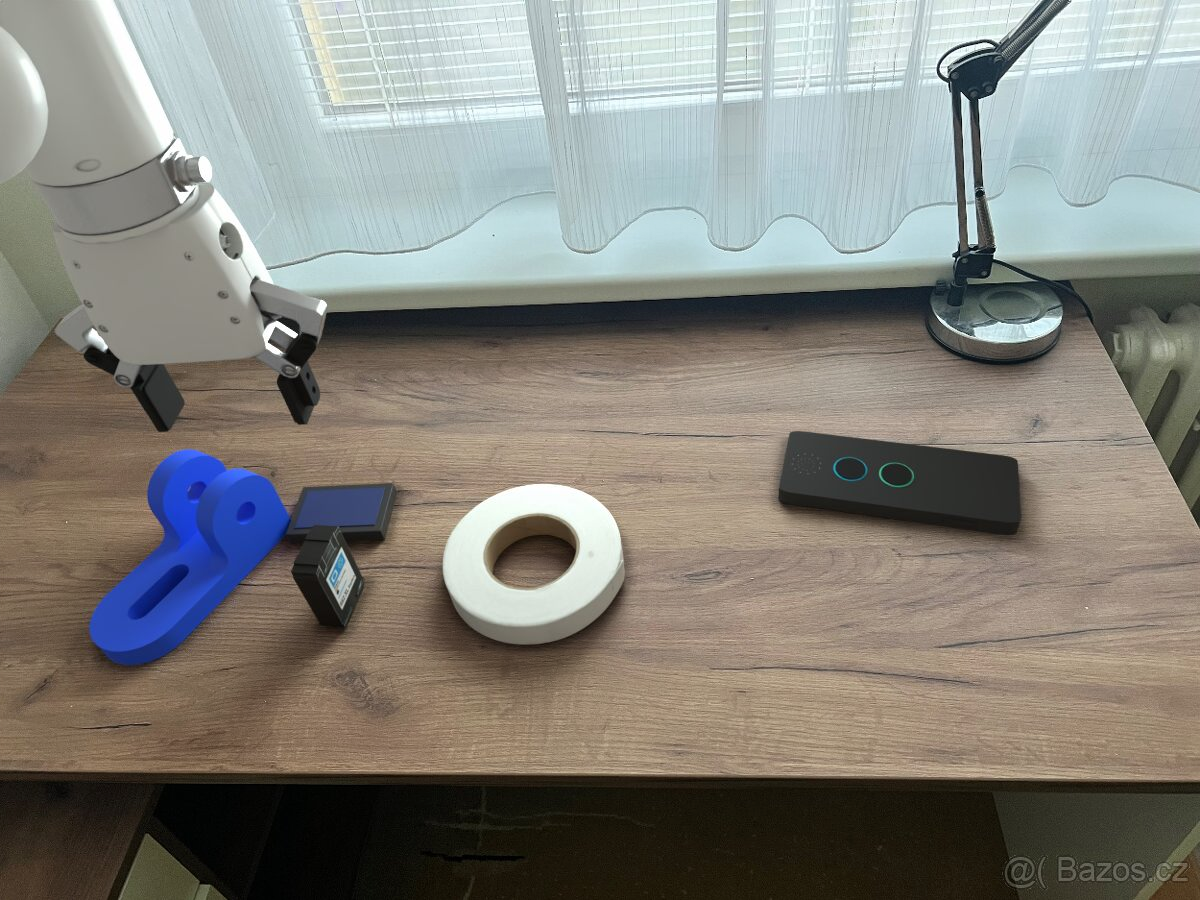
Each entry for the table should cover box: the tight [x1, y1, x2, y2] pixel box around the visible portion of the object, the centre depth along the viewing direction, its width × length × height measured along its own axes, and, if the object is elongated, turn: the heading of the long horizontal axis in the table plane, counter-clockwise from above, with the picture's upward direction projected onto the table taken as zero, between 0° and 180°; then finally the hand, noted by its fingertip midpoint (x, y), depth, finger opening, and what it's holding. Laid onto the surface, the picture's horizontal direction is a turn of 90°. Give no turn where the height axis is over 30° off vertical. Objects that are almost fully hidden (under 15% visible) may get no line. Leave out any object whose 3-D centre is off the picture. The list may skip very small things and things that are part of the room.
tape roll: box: [442, 483, 626, 645], centre depth 75 cm, size 16×15×3 cm
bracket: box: [88, 448, 292, 666], centre depth 76 cm, size 18×8×9 cm, turn 151°
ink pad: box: [285, 482, 398, 545], centre depth 82 cm, size 9×6×2 cm, turn 88°
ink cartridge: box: [290, 525, 366, 629], centre depth 73 cm, size 5×2×8 cm, turn 170°
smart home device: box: [777, 430, 1022, 536], centre depth 78 cm, size 8×2×20 cm
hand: (240, 414), depth 60 cm, fingers open, 9 cm apart
